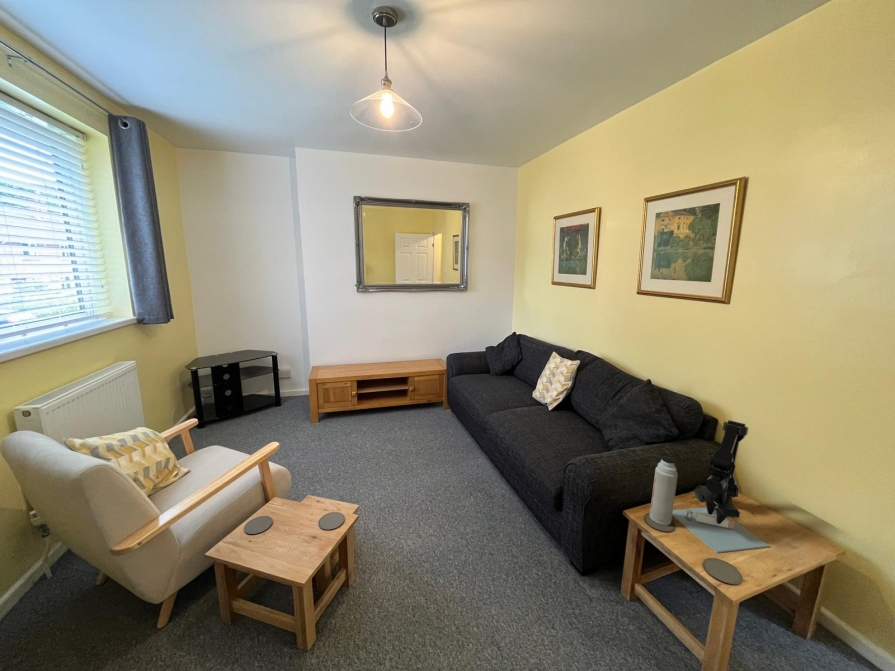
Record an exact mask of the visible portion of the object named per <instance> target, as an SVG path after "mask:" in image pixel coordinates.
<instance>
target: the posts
mask: <svg viewBox="0 0 895 671" xmlns="http://www.w3.org/2000/svg"><path fill="white" fill-rule="evenodd" d="M715 508H718V505H717V504H716V507H715ZM706 510H707V508H706ZM713 514H717V511H716V510H715V509H714V512H713ZM692 515H693V512H692V511H690V510H686V515H685V519H687V520H689V521H691V520H692Z"/></svg>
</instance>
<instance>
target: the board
mask: <svg viewBox="0 0 895 671" xmlns="http://www.w3.org/2000/svg"><path fill="white" fill-rule="evenodd" d="M686 510H690V511H692V512H693V515H692V520H691V521H689V520H687V519H685V515H686ZM695 511H696V512H701V513H706V514H708V512H707V510H706V506H705V507H695V508H683V509H673V512H672V518H674V519H675V520H676V521H677V522H679V523H680V524H681V525H683V527H685V528H686V529H688V531H689V532H691V533H692V534H693V535H694V536H696V537H697V538H698V539H699V540H700V541H702V542H703V543H704V544H705V545H707V547H709V548H710V549H711V550H712V551H714V552H715V553H716V554H718V553H728V552H738V551H747V550H754V549H755V550H757V549H765V548H771V547H770V545H769V544H768V543H766V542H765V541H764V540H762V539H761V538H760V537H758V536H757V535H755V534H754V533H752V532H750V531H749V530H748V529H746V528H745V527H743V526H742V525H740V524H739V523H738V522H737V521H735V520H733V521H734V522H735V524H734V529H730V528H726V527H721V526H717V525H712V524H707V523H703V522H698V521H696V520H695V518H694V517H695ZM712 515H716V516H717V514H712ZM727 518H730V517H727Z"/></svg>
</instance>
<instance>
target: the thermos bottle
mask: <svg viewBox="0 0 895 671" xmlns="http://www.w3.org/2000/svg"><path fill="white" fill-rule="evenodd" d="M675 463H676V460H675V458H673V457H672V456H671V457H670V456H666V455H662V456H661V458H660V461H659V462H658V463H657V466H656V467H655V470H654V479H653V484H652V485H653V487H652V493H651V494H652V495H651V502H650V509H649V518H650V520H651V521H653V522H654V521H655V522H654V523H656V524H658V523H659V524H658V525H661V524H662V526H670V525H671V524H672V520H673V519H672V518H673V516H672V512H673V510H674V504H675V497H676V490H677V482H678V475H679V474H678V472H677V467H676V465H675ZM669 524H670V525H669Z"/></svg>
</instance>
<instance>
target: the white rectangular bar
mask: <svg viewBox="0 0 895 671" xmlns="http://www.w3.org/2000/svg"><path fill="white" fill-rule="evenodd" d="M694 518H695V520H696V521H698V522H703V523H707V524H712V525H717V526H721V527H726V528H730V529H734V524H735V522H736V521H735V520H734V519H733V518H732V517H729V518H726V519H725V520H724V521H723V522H722V523H721V524H717V516H716V515H711V514H706V513H701V512H696V511H695V517H694ZM734 521H735V522H734Z"/></svg>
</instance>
